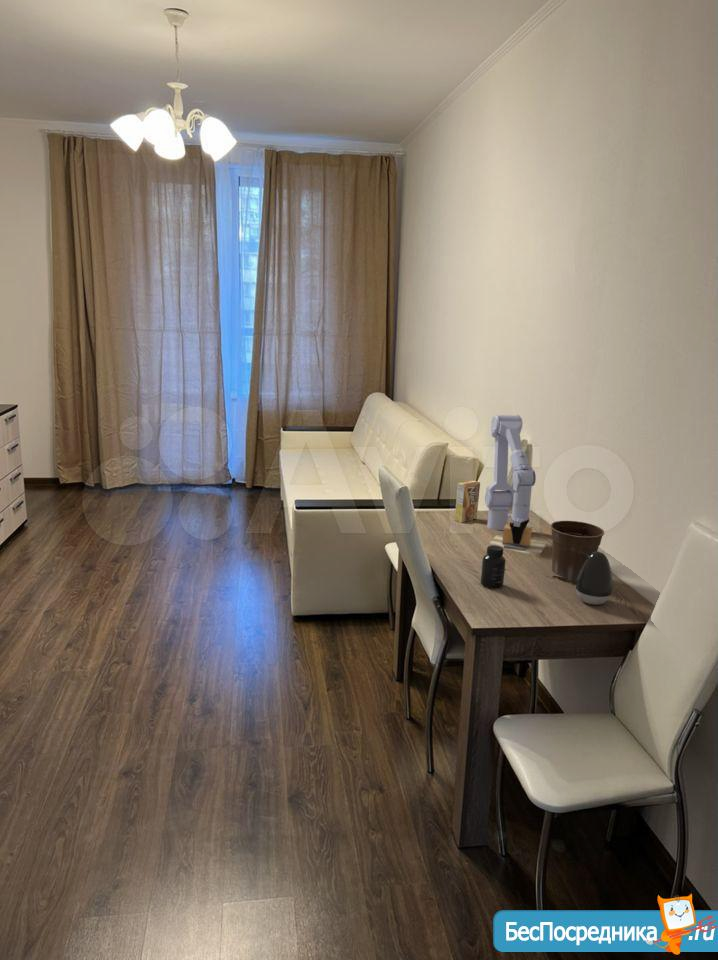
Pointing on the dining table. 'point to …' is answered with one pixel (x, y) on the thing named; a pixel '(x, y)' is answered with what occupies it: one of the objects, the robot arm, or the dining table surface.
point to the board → (533, 549)
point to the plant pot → (572, 547)
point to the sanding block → (509, 538)
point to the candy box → (467, 501)
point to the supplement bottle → (493, 567)
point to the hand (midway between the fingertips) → (517, 541)
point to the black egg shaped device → (594, 579)
